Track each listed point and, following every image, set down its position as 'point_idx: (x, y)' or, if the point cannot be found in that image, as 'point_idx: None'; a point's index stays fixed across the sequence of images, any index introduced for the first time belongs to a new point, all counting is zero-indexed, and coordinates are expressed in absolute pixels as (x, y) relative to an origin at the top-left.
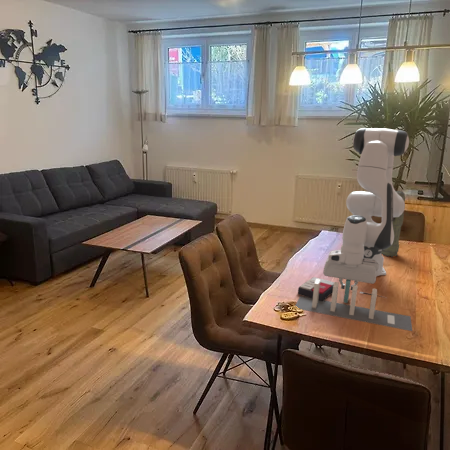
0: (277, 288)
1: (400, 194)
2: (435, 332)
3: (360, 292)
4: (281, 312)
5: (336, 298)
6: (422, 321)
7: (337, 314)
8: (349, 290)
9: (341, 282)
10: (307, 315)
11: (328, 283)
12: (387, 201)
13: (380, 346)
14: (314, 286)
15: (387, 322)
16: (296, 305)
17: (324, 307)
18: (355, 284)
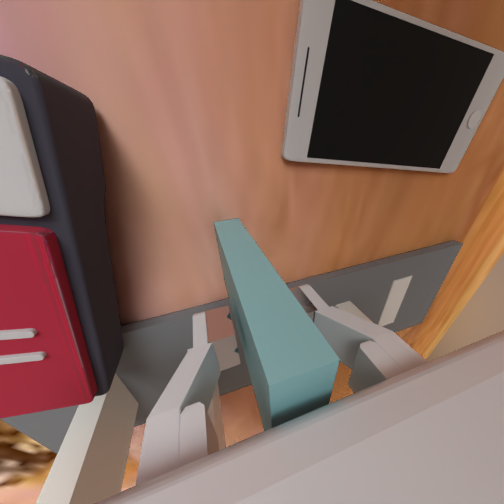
0: None
1: None
2: (471, 280)
3: (309, 11)
4: (40, 474)
5: (219, 422)
6: (477, 238)
7: (232, 382)
8: (258, 251)
9: (207, 410)
10: (138, 428)
11: None
12: None
13: (336, 395)
14: None
15: (377, 324)
16: (46, 441)
17: (167, 379)
18: (348, 362)
